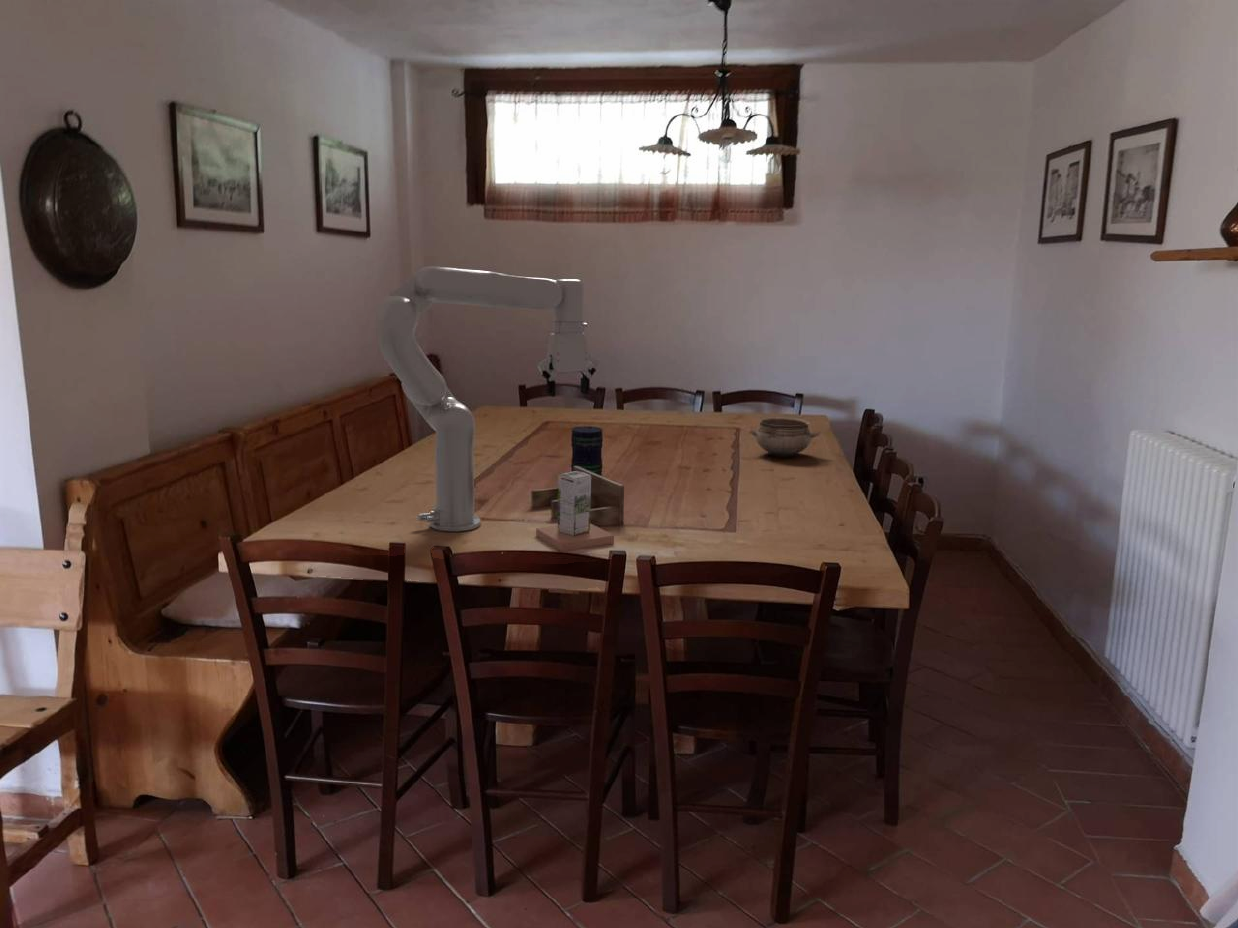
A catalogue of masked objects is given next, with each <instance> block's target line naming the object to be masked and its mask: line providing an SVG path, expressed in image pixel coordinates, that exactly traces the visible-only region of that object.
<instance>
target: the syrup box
mask: <svg viewBox="0 0 1238 928" xmlns="http://www.w3.org/2000/svg"><path fill="white" fill-rule="evenodd" d="M557 481H558V485H557V487H558V518H557V525H558V531H559V532H562V533H565V534H569V535H572V536H575V535H578V534H582V533H586V532H589V531H590V504H591V475H589V474H586V473H584V472H579V471H573V472H572V471H570V472H565V473H559V474H558V480H557Z"/></svg>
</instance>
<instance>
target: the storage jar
mask: <svg viewBox="0 0 1238 928" xmlns="http://www.w3.org/2000/svg"><path fill="white" fill-rule="evenodd" d="M603 431H604V429H603V428H601V427H596V426H575V427H573V428H571V439H570V441H571V444H570V445H571V453H572V454H571V464H570V467H571V470H570V472H573V471H574V466H579V467H581V468H583V469H586V470H588V471H591V472H593V473H595V474H598V475H600V476H603V474H602V472H603V470H602V469H603V459H602V458H603V457H602V454H603V453H602V447H603V444H604V443H603V441H604V438H603Z"/></svg>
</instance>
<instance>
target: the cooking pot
mask: <svg viewBox="0 0 1238 928" xmlns="http://www.w3.org/2000/svg"><path fill="white" fill-rule="evenodd" d="M758 422H759V425H758V427H757V429H756V431H754V430H751V429H747V432H748V434H750V435H752V436H753V437H755V439H756V443H757V444H758V445H759V447H760V448H761V449H762V450H764V451H765V452H767V453H768V454H770V455H771V456H773V457H775V458H780V459H781V458H783V459H784V458H792V457H793V456H795V455H797V454H799V453H801V452H803V451H804V450H805V449H806V448H807V447H808V446H809V445H810V443H811V440H812V439H813V438H816V437H818V436H820V434H821V433H820V432H819V431H815V432H811V430H810V428H809V424H810V421H808V420H807V419H802V418H797V417H796V418H795V417H785V416H784V417H783V416H779V417H776V416H773V417H763V418H760V419H758Z"/></svg>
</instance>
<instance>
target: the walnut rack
mask: <svg viewBox="0 0 1238 928" xmlns="http://www.w3.org/2000/svg"><path fill="white" fill-rule="evenodd" d="M574 471H579V472H584V473H586V474H589V475H591V504H590V523H591V524H593V525H595V526H597V527H599V528H600V527H603V526H604V527H605V526H610V525H617V524H623V523H624V516H625V515H624V509H625V508H624V507H625V505H624V504H625V502H624V501H625V500H624V499H625V485H624V484H622V483H619V482H616V481H614V480H611V479H609V478H608V477H604V476H603V475H602V476H600V475H598V474H595V473H593V472H591V471H588V470H586V469H583V468H581V467H579V466H574ZM530 494H531V499H530V500H531V507H532V508H539V507H546V506H551V507H550V509H551V512H550V514H551V517H550V518H552V519H556V518H557V519H558V486H557V487H550V488H549V487H548V488H542V489H532V490H531V493H530Z"/></svg>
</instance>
